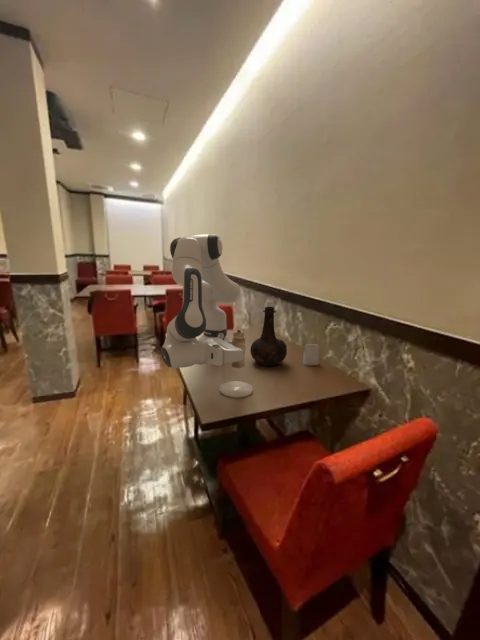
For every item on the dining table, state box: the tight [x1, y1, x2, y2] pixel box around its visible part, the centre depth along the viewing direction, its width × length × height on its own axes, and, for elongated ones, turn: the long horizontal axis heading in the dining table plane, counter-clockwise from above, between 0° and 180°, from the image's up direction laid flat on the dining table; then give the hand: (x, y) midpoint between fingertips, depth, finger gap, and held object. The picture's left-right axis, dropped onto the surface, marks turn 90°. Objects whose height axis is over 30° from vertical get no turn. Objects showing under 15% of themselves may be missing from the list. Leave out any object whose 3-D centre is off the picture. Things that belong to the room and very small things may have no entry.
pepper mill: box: [230, 329, 246, 369], centre depth 118 cm, size 5×5×14 cm
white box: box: [302, 343, 320, 366], centre depth 153 cm, size 4×7×10 cm, turn 96°
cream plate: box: [219, 380, 254, 399], centre depth 121 cm, size 13×13×1 cm
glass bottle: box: [249, 306, 288, 367], centre depth 151 cm, size 18×18×28 cm
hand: (240, 346), depth 118 cm, fingers closed on pepper mill, 5 cm apart
